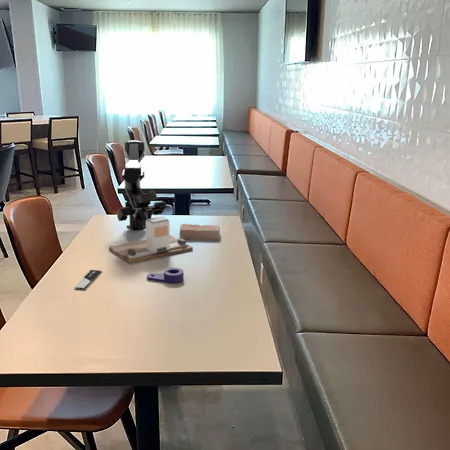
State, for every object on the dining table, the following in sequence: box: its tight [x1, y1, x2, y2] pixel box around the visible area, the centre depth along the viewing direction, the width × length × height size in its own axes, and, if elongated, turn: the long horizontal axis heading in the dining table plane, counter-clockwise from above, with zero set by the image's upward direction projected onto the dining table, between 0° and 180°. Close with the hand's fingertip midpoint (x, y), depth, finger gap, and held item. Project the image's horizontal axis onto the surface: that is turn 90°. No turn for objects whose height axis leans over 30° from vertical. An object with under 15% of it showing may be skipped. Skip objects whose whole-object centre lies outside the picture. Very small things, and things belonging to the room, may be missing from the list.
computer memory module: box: [73, 269, 103, 291], centre depth 151 cm, size 15×1×4 cm
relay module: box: [145, 216, 171, 253], centre depth 172 cm, size 6×7×12 cm
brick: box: [179, 223, 221, 241], centre depth 195 cm, size 17×8×5 cm, turn 92°
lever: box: [146, 267, 185, 285], centre depth 153 cm, size 12×6×3 cm, turn 84°
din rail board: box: [108, 235, 194, 265], centre depth 178 cm, size 18×26×4 cm
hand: (150, 230), depth 177 cm, fingers closed
